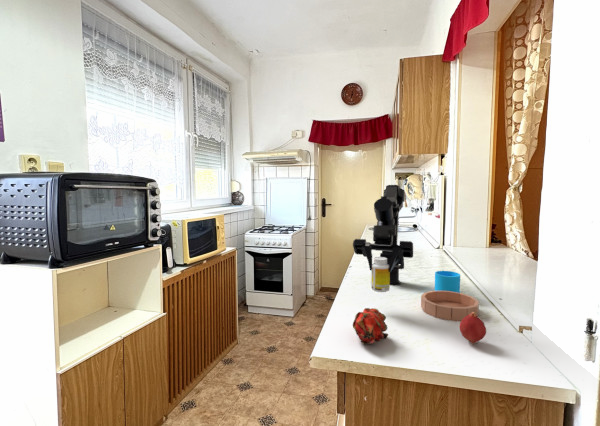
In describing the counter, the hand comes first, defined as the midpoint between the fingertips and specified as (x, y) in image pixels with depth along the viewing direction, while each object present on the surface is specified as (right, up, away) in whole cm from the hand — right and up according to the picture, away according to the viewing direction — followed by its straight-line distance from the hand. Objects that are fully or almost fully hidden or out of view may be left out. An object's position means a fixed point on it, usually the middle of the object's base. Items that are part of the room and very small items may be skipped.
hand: (380, 270), depth 99 cm
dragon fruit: (-7, -15, -17) cm, 24 cm away
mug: (+28, -12, +17) cm, 35 cm away
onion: (+18, -15, -20) cm, 30 cm away
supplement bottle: (+1, -7, +2) cm, 7 cm away
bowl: (+22, -13, +1) cm, 25 cm away
